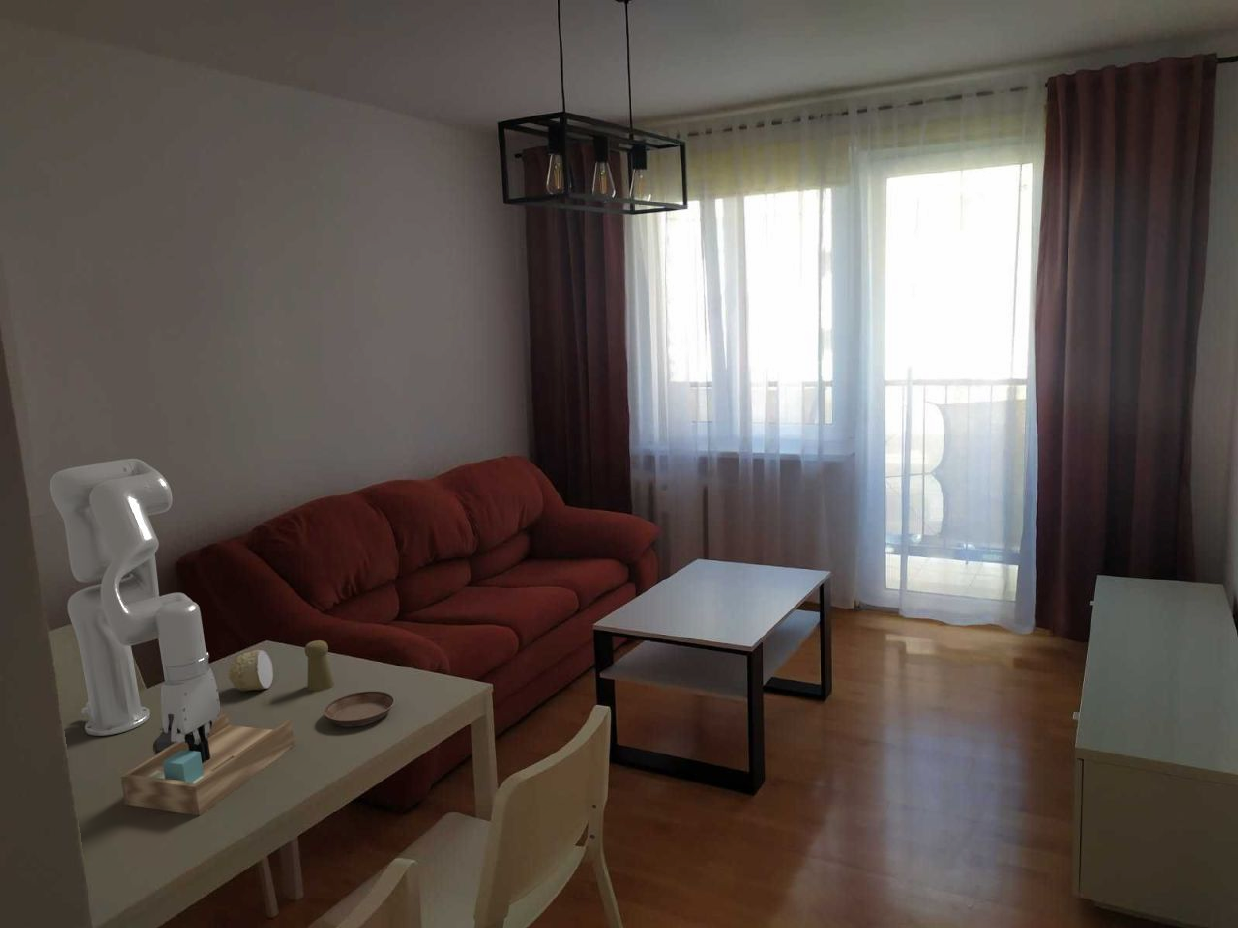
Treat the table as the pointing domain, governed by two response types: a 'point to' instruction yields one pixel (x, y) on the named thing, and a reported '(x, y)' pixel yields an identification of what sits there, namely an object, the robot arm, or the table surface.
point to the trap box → (208, 768)
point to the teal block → (183, 766)
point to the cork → (318, 666)
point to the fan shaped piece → (163, 741)
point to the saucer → (359, 708)
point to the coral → (251, 671)
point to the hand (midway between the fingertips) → (200, 760)
